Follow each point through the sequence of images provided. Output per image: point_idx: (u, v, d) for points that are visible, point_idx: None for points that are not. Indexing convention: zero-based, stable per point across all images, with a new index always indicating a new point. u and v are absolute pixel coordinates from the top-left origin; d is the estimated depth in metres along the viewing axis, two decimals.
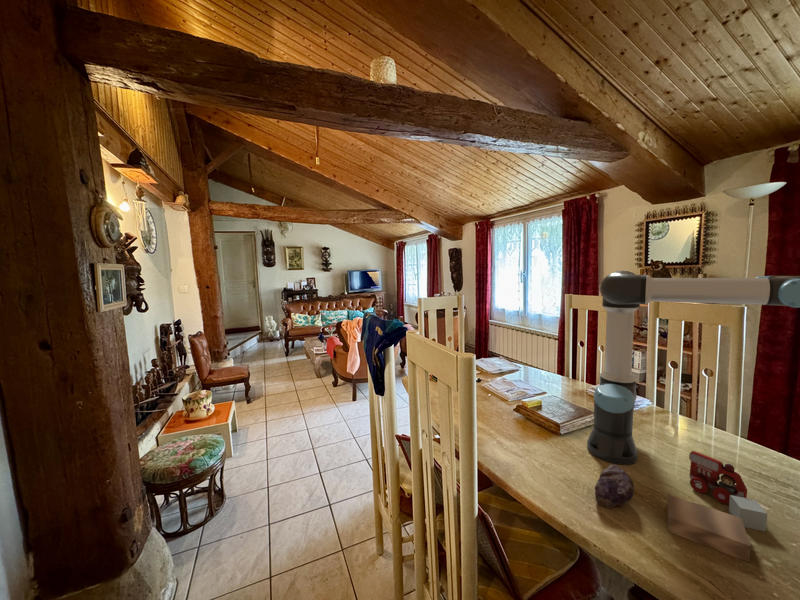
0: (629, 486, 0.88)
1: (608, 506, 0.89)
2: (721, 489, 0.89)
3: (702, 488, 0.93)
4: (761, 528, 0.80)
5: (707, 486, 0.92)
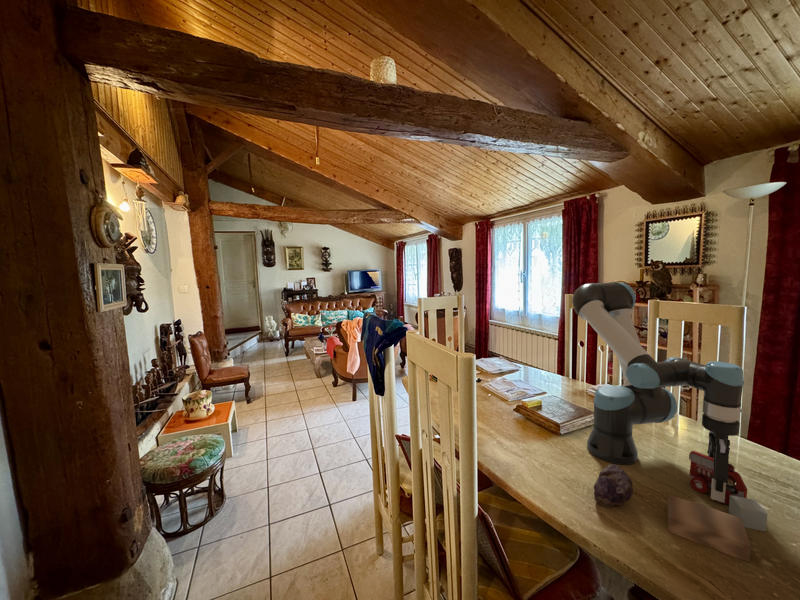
0: (628, 485, 0.88)
1: (607, 505, 0.89)
2: None
3: (703, 488, 0.93)
4: (761, 528, 0.80)
5: (707, 486, 0.92)
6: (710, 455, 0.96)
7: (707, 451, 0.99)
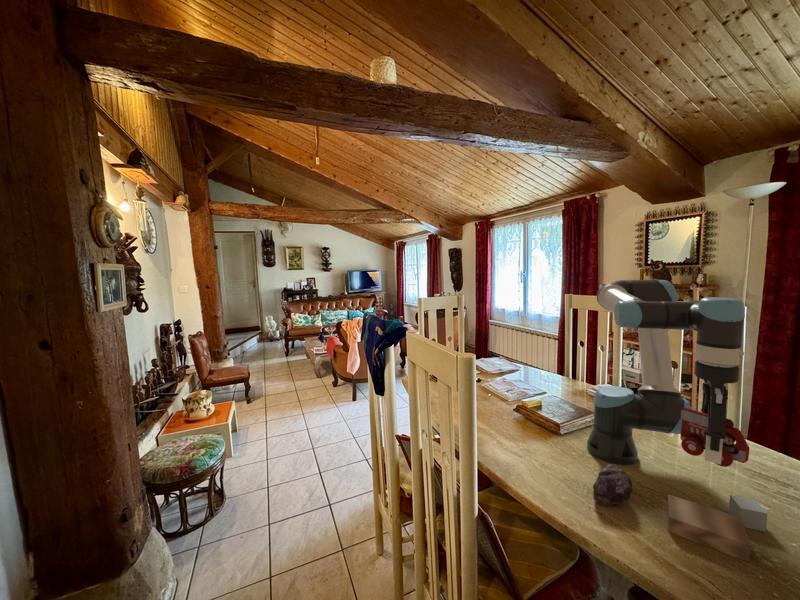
0: (627, 485, 0.88)
1: (606, 505, 0.89)
2: None
3: (696, 449, 0.78)
4: (761, 528, 0.80)
5: (702, 447, 0.77)
6: (704, 412, 0.81)
7: (701, 409, 0.84)
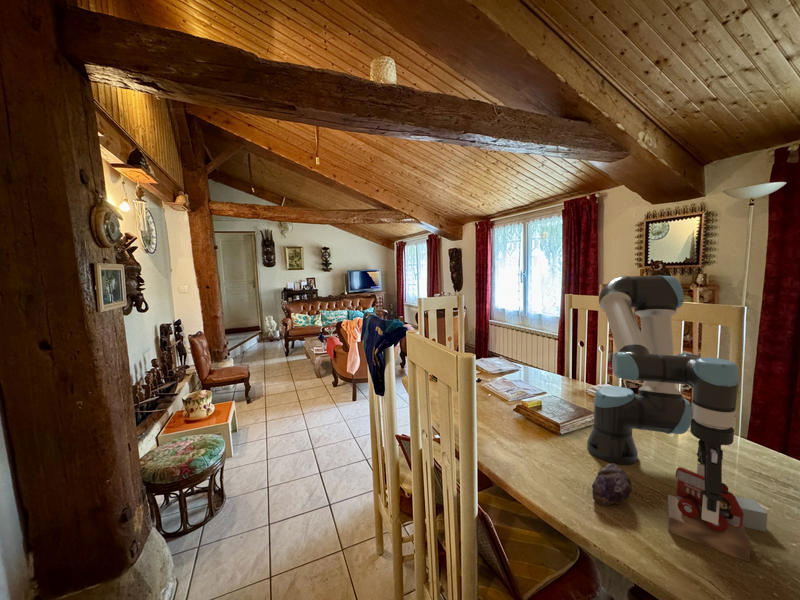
0: (626, 484, 0.88)
1: (605, 504, 0.90)
2: None
3: (692, 511, 0.79)
4: (761, 528, 0.80)
5: (698, 510, 0.79)
6: (700, 459, 0.84)
7: (697, 453, 0.87)
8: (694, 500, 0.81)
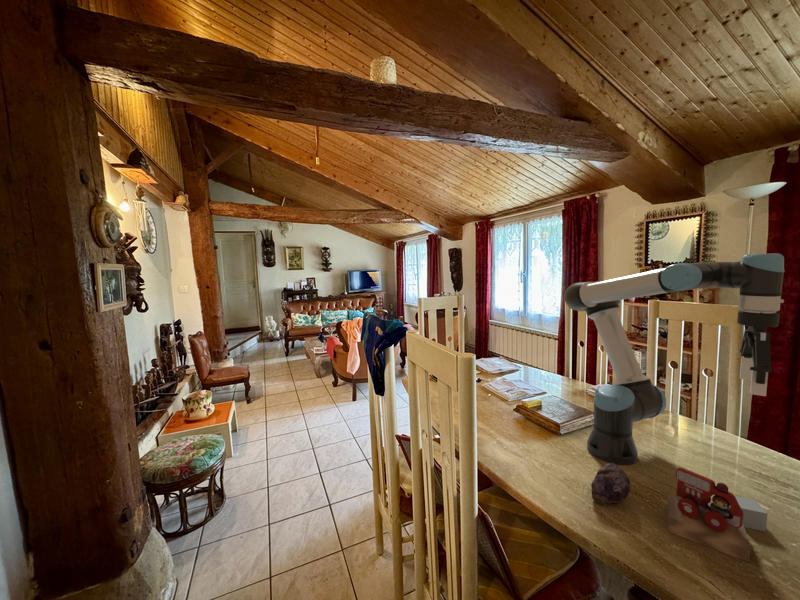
0: (625, 484, 0.88)
1: (604, 503, 0.90)
2: (714, 514, 0.76)
3: (692, 511, 0.79)
4: (761, 528, 0.80)
5: (698, 510, 0.79)
6: (744, 352, 0.93)
7: (740, 350, 0.96)
8: (694, 500, 0.81)
